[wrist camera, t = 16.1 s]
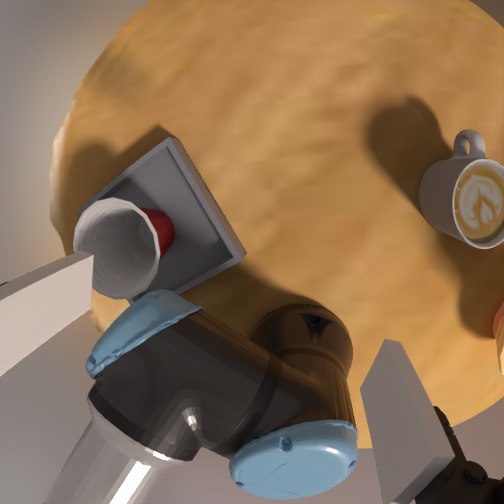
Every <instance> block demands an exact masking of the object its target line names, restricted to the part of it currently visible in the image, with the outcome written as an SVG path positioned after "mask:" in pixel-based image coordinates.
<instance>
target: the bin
mask: <svg viewBox="0 0 504 504" xmlns="http://www.w3.org/2000/svg"><path fill="white" fill-rule="evenodd" d="M108 198H117V199H121V200H125V201H129V202H131V203H133V204H134V205H135V206H136V207H141V208H147V209H154V210H158V211H161V212H163V213H165V214H166V215H167V216H168V217H170V219H171V221H172V222H173V224H174V229H175V236H174V241H173V243H172V245H171V246H170V248H169V249H168V250H167V252H166V253H165V255H164V257H163V258H162V259H161V261H160V262H159V264H158V270H157V274H156V276H155V277H154V279H153V280H152V282H151V283H150V285H149V286H148V288H147V289H146V290H145V291H143V292H141V293H140V294H138V295H136V296H135V297H133V298H129V299H127V300H128V302H129V303H130V305H132V304H133V303H134V302H135V301H137V300H138V299H139V298H141V297H143V296H144V295H146V294H147V293H149V292H152V291H155V290H160V289H165V290H169V291H172V292H174V293H175V294H177V295H180V294H182V293H184V292H185V291H187V290H189V289H191V288H193V287H195V286H196V285H198V284H200V283H202V282H204V281H206V280H207V279H209V278H211V277H213V276H215V275H217V274H218V273H220V272H222V271H224V270H226V269H228V268H229V267H231V266H233V265H235V264H237V263H238V262H240V261H242V260H243V259H244V257H245V256H246V254H247V252H246V251H245V249H244V247H243V246H242V244H241V242H240V241H239V239H238V237H237V236H236V234H235V232H234V231H233V229H232V227H231V226H230V224H229V222H228V221H227V219H226V217H225V216H224V214H223V212H222V211H221V209H220V207H219V206H218V204H217V202H216V200H215V199H214V197H213V195H212V194H211V192H210V190H209V189H208V187H207V185H206V184H205V182H204V180H203V179H202V177H201V175H200V174H199V172H198V170H197V169H196V167H195V165H194V164H193V162H192V160H191V159H190V157H189V155H188V153H187V152H186V150H185V148H184V147H183V145H182V143H181V142H180V140H179V139H176V138H172V137H168V138H167V139H165V140H164V141H162V142H161V143H160V144H158V145H157V146H156V147H154V148H153V149H152V150H150V151H149V152H148V153H146V154H145V155H144V156H142V157H141V158H140V159H139V160H137V161H136V162H135V163H133V164H132V165H131V166H130V167H128V168H127V169H126V170H125V171H123V172H122V173H121V174H120V175H118V176H117V177H116V178H115V179H114V180H112V181H111V182H110V183H109V184H108V185H106V186H105V187H104V188H103V189H102V190H101V191H99V192H98V193H97V194H96V195H95V196H94V197H92V198H91V199H90V200H89V201H88V202H87V203H86V204H85V205H83V206H82V207H81V208H80V209H79V210H78V211H77V214H78V216H79V218H80V217H81V215H82V213H83V212H84V211H85V210H86V209H87V208H89V207H90V206H91V205H92V204H94V203H95V202H96V201H99V200H104V199H108Z"/></svg>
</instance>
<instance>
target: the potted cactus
mask: <svg viewBox="0 0 504 504" xmlns="http://www.w3.org/2000/svg"><path fill="white" fill-rule="evenodd" d="M492 328H493V334H494V337H495V338H496V344H497V353H498V362H499V369H500V371H501V374H502V375H503V376H504V301H503V303H502V305H501V306H500V308H499V309H498V311H497V312H496V314H495V318H494V322H493V325H492Z"/></svg>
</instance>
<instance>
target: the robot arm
mask: <svg viewBox="0 0 504 504" xmlns="http://www.w3.org/2000/svg"><path fill="white" fill-rule="evenodd" d="M93 259H94V255H93V254H90V253H87V252H85V251H82V250H81V251H78V252H76V253H73V254H71V255H69V256H66V257H64V258H62V259H60V260H57V261H55V262H53V263H50V264H48V265H46V266H43V267H41V268H39V269H37V270H34V271H32V272H30V273H28V274H26V275H23V276H21V277H19V278H17V279H15V280H12V281H10V282H6V283H3V284H1V285H0V376H1V375H3V374H4V373H5V372H6V371H8V370H9V369H10V368H11V367H13V366H14V365H15V364H17V363H18V362H19V361H20V360H22V359H23V358H24V357H26V356H27V355H28V354H30V353H31V352H32V351H33V350H35V349H36V348H37V347H38V346H40V345H41V344H43V343H44V342H45V341H47V340H48V339H49V338H51V337H52V336H53V335H55V334H56V333H58V332H59V331H60V330H61V329H63V328H64V327H66V326H67V325H68V324H70V323H71V322H72V321H74V320H75V319H77V318H78V317H79V316H81V315H82V314H84V313H85V312H86V311H88V310H89V309H91V295H92V274H93ZM203 310H204V308H203V307H201V306H196V305H194V304H192V303H191V302H189V301H187V300H186V299H184V298H182V297H180V296H179V295H177V294H175V293H174V292H172V291H169V290H165V289H160V290H155V291H152V292H149V293H147V294H146V295H144V296H143V297H141V298H139V299H138V300H137V301H135V302H134V303H133V304H132V305H131V306H129V307H128V308H127V309H126V310H125V311H124V312H123V313H122V314H121V315H120V316H119V317H118V318H117V319H116V320H115V321H114V322H113V323H112V324H111V325H110V327H109V328H108V329H107V330H106V331H105V333H104V334H103V335H102V336H101V338H100V339H99V340H98V342H97V343H96V345H95V346H94V348H93V350H92V353H91V355H90V356H89V358H88V359H87V362H86V370H87V372H88V373H89V374H90V377H91V378H92V379H96V381H95V384H94V385H93V387H92V388H91V390H90V392H89V394H88V395H87V401H88V405H89V408H90V412H91V415H92V419H91V421H90V423H89V424H88V426H87V428H86V429H85V431H84V433H83V434H82V436H81V438H80V440H79V441H78V443H77V444H76V446H75V448H74V450H73V451H72V453H71V455H70V456H69V459H68V460H67V462H66V463H65V465H64V467H63V469H62V470H61V472H60V474H59V476H58V477H57V479H56V481H55V483H54V485H53V486H52V488H51V490H50V492H49V494H48V495H47V498H46V499H45V501H44V503H43V504H144V503H145V501H146V500H147V498H148V497H149V495H150V494H151V492H152V491H153V489H154V488H155V486H156V485H157V484H158V482H159V481H160V479H161V477H162V476H163V474H164V473H165V472H166V470H167V468H168V467H170V466H176V465H182V464H188V463H190V462H191V461H192V460H193V458H194V457H195V455H196V454H197V452H198V451H199V449H200V448H201V447H204V448H207V449H209V450H211V451H213V452H215V453H217V454H219V455H221V456H223V457H225V458H227V459H230V463H229V470H230V474H231V477H232V479H233V480H234V481H235V483H236V485H237V486H238V487H240V488H241V489H242V490H244V491H246V492H248V493H250V494H253V495H256V496H260V497H265V498H270V499H296V498H301V497H308V496H312V495H315V494H319V493H321V492H324V491H326V490H329V489H330V488H332V487H334V486H336V485H338V484H339V483H340V482H342V481H343V480H344V479H345V478H346V477H347V476H348V475H349V474H350V473H351V472H352V470H353V469H354V467H355V465H356V462H357V458H358V448H357V440H358V430H357V428H356V424H355V419H354V414H353V409H352V404H351V399H350V394H349V390H348V385H347V381H346V379H347V376H348V373H349V370H350V367H351V364H352V359H353V347H352V342H351V339H350V335H349V332H348V330H347V328H346V327H345V325H344V324H343V322H342V321H341V320H340V319H339V318H338V317H337V316H336V315H334V314H333V313H331V312H330V311H328V310H326V309H323V308H321V307H318V306H314V305H308V304H294V305H288V306H284V307H281V308H278V309H276V310H274V311H272V312H270V313H268V314H267V315H266V316H264V317H263V318H262V319H261V320H260V321H259V322H258V323H257V324H256V326H255V327H254V329H253V330H252V332H251V335H250V337H249V339H248V338H246V337H244V336H243V335H241V334H239V333H238V332H236V331H234V330H233V329H231V328H230V327H228V326H226V325H225V324H223V323H222V322H220V321H219V320H217V319H215V318H214V317H212V316H211V315H209V314H208V313H206V312H205V311H203ZM360 391H361V396H362V400H363V404H364V409H365V413H366V417H367V422H368V427H369V431H370V436H371V441H372V446H373V451H374V455H375V461H376V466H377V472H378V477H379V483H380V489H381V495H382V501H383V504H409V503H410V502H411V501H412V500H414V499H415V502H416V504H504V477H503V478H502V479H501V480H497V479H492V478H488V476H487V473H486V471H485V470H484V469H483V467H482V466H480V465H479V464H478V463H475V462H472V461H466V458H465V456H464V454H463V452H462V449H461V447H460V445H459V443H458V440H457V438H456V436H455V435H454V432H453V430H452V428H451V427H450V424H449V422H448V419H447V417H446V415H445V414H444V413H443V412H442V411H441V410H440V409H439V408H438V407H437V406H432V404H431V401H430V399H429V397H428V395H427V393H426V391H425V389H424V387H423V385H422V383H421V381H420V379H419V377H418V375H417V373H416V371H415V369H414V367H413V365H412V364H411V362H410V360H409V358H408V356H407V354H406V352H405V350H404V348H403V347H402V345H401V343H400V342H397V341H393V340H388V339H385V340H384V342H383V344H382V346H381V348H380V350H379V352H378V354H377V356H376V359H375V361H374V363H373V365H372V367H371V369H370V371H369V372H368V374H367V376H366V378H365V380H364V382H363V384H362V386H361V388H360Z"/></svg>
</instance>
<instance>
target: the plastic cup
mask: <svg viewBox="0 0 504 504" xmlns="http://www.w3.org/2000/svg"><path fill="white" fill-rule="evenodd" d="M174 236H175V229H174V224H173V222H172V221H171V219H170V217H168V216H167V215H166V214H165V213H163V212H161V211H158V210H154V209H147V208H141V207H136V206H135V205H134V204H133V203H131V202H129V201H125V200H121V199H117V198H108V199H104V200H99V201H96V202H95V203H94V204H92V205H91V206H90V207H89V208H87V209H86V210H85V211H84V212H83V213H82V215H81V217H80V219H79V221H78V223H77V225H76V227H75V232H74V240H73V250H74V253H76V252H78V251H81V250H82V251H85V252H87V253H90V254H93V255H94V259H93V274H92V287H93V288H94V289H95V290H96V291H97V292H98V293H99V294H102V295H105V296H107V297H110V298H113V299H129V298H133V297H135V296H136V295H138V294H140V293H141V292H143V291H145V290H146V289H147V288H148V286H149V285H150V283H151V282H152V280H153V279H154V277H155V276H156V274H157V270H158V264H159V262H160V261H161V259H162V258H163V257H164V255H165V253H166V252H167V250H168V249H169V248H170V246H171V245H172V243H173V241H174Z"/></svg>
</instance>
